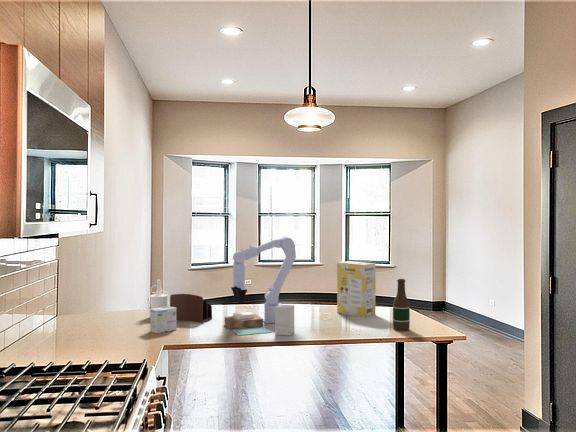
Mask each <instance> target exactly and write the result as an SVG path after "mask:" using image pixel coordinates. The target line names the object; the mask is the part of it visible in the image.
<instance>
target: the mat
mask: <svg viewBox="0 0 576 432" xmlns="http://www.w3.org/2000/svg"><path fill="white" fill-rule="evenodd" d="M231 331H232V332H234V333H235V334H236V335H237V336H239V337H240V336H248V335H249V336H251V335H261V334H269V333H272V331H271V330H269V329H268V328H266V327H265V326H263V327H257V328H246V329H235V330H231Z"/></svg>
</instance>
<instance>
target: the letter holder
mask: <svg viewBox="0 0 576 432" xmlns="http://www.w3.org/2000/svg"><path fill="white" fill-rule="evenodd" d="M170 306H171V307H176V321H178V320H179V321H180V322H187V323H188V322H190V323H198V324H199V323H200V324H202V323H203V324H204V323H206V322H208V321H211V320H212V319H213V307H212V304H211V303H208V301H207V300H204V298H203V297H202V296H200V295H197V294H191V293H175V294H174V293H173V294H171V295H170ZM179 321H178V322H179Z"/></svg>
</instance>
